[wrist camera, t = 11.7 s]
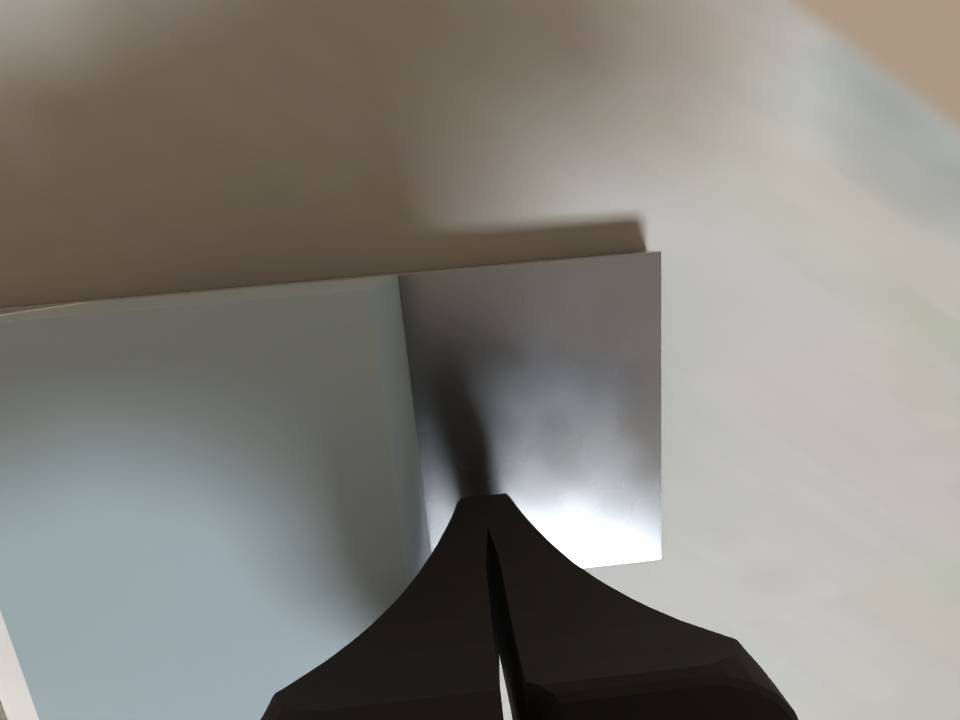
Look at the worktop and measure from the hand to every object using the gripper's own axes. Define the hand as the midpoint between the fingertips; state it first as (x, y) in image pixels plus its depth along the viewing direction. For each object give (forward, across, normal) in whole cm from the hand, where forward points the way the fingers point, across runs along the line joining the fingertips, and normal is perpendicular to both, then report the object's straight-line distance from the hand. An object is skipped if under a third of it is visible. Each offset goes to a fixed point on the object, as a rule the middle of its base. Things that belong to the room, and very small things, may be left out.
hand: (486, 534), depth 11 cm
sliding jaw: (+2, +5, -2) cm, 6 cm away
